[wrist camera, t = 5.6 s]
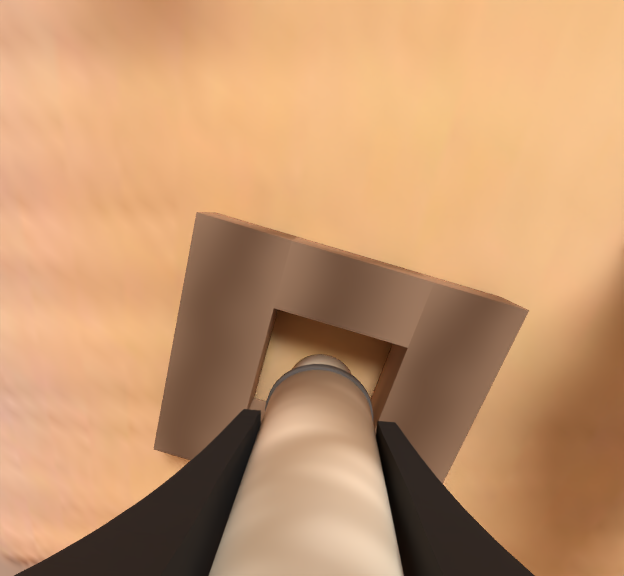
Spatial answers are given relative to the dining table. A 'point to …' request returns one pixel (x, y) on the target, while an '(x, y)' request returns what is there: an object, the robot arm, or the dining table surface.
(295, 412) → the ash peg
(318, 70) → the dining table surface
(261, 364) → the walnut board
